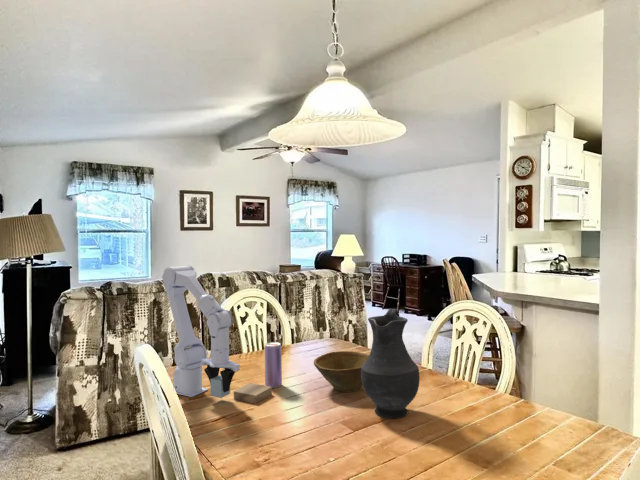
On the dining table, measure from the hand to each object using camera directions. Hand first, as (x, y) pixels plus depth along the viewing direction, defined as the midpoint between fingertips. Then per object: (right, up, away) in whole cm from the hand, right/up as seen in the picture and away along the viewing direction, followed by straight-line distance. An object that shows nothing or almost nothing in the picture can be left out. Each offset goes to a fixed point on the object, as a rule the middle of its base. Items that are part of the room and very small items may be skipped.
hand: (220, 389), depth 142 cm
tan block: (+10, -4, +4) cm, 12 cm away
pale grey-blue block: (0, -2, 0) cm, 2 cm away
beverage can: (+16, -4, +14) cm, 22 cm away
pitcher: (+54, -3, -9) cm, 55 cm away
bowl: (+42, -3, +12) cm, 43 cm away
